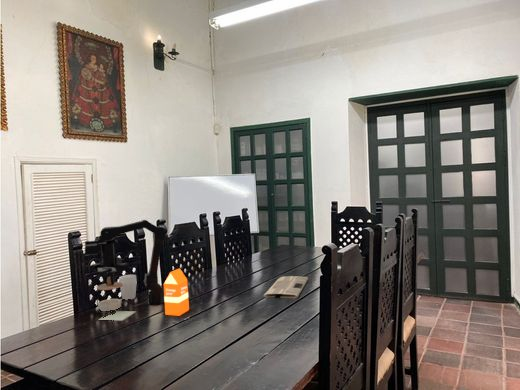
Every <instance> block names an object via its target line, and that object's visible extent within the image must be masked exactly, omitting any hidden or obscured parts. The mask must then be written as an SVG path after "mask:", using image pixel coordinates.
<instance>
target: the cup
mask: <svg viewBox="0 0 520 390" xmlns="http://www.w3.org/2000/svg"><path fill="white" fill-rule="evenodd" d="M118 282H121V283H123V286H122V287H119V288H120V293H121V299H122V300H123V299H125V300H124V301H129V300H128V299H131V300H134V299H135V298H136V294H137V293H136V291H137V275H136V274H125V275H121V276H119V278H118Z"/></svg>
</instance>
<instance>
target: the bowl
mask: <svg viewBox="0 0 520 390" xmlns="http://www.w3.org/2000/svg"><path fill="white" fill-rule="evenodd" d="M120 307H121V308H122V302H121V299H119V298H109V299H104V300H103V299H102V300H101V301H99V302H98V303H97V309H98V308H99V309H100V310H101V311H110V310H115V309H118V308H120ZM121 308H120V309H121ZM118 310H119V309H118ZM115 311H116V310H115Z"/></svg>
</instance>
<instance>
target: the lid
mask: <svg viewBox="0 0 520 390" xmlns="http://www.w3.org/2000/svg"><path fill="white" fill-rule="evenodd" d="M122 286H123V283H121V282H119V281H115V282H114V285H112V283H111V278H110V276H108V277H107V285H106V283H105V282H104V283H102V284H99V285H98V286H97V287H96V288H97V290H99V291H110V290H116V289H118V288H120V287H122Z"/></svg>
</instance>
